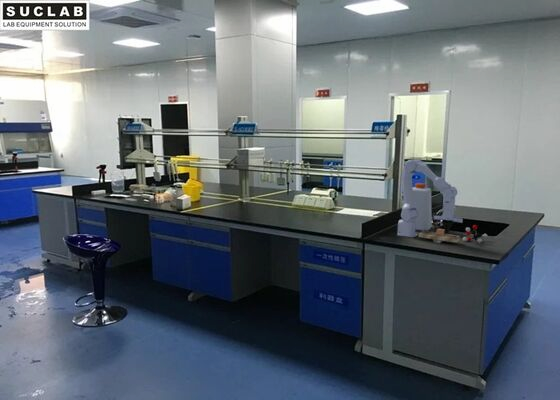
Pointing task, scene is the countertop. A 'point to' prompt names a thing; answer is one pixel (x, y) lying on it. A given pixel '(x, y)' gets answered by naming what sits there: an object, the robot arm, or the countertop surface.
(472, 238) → the molecular model
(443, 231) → the pink cube
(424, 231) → the wooden tray
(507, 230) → the countertop surface
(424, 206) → the plastic bottle
